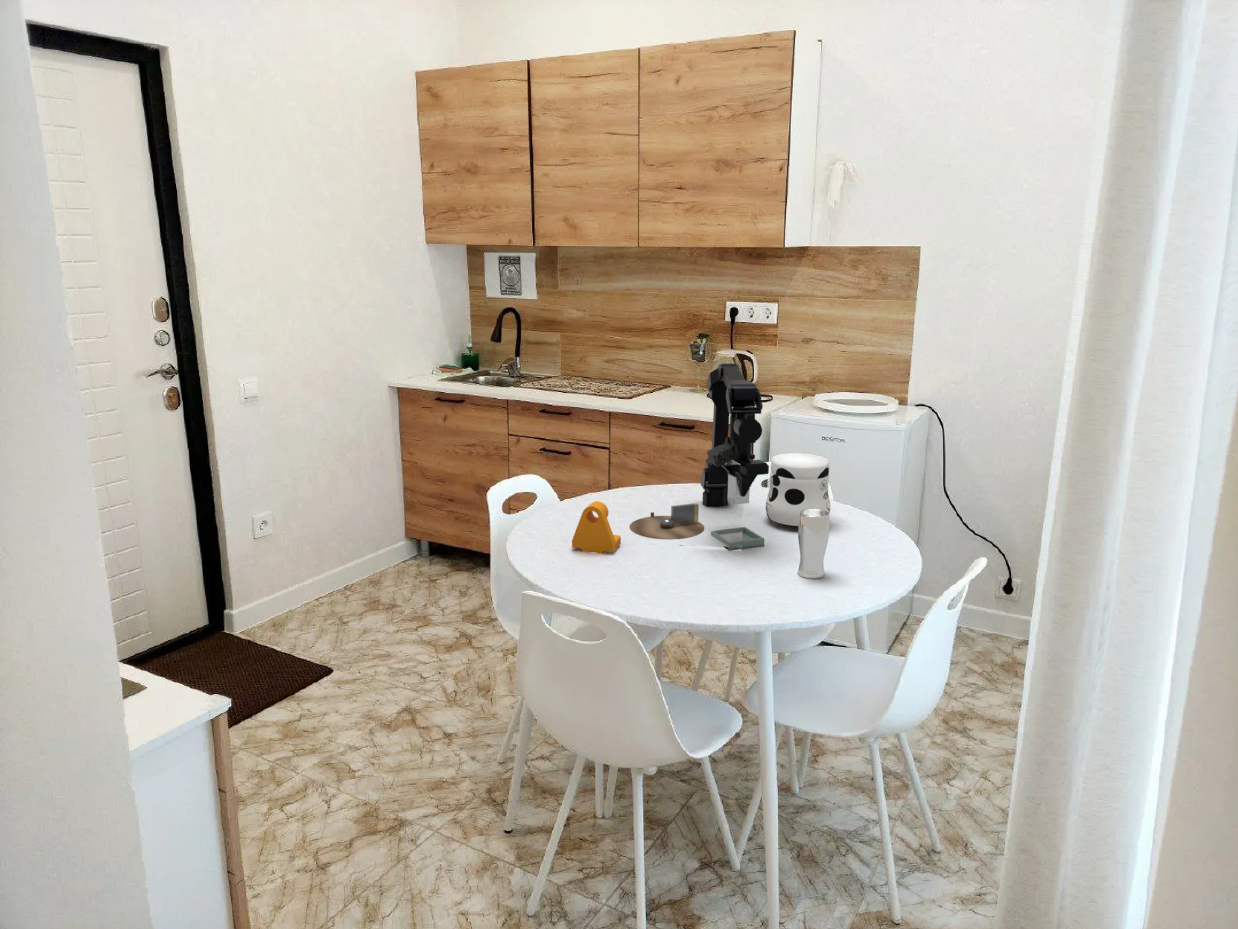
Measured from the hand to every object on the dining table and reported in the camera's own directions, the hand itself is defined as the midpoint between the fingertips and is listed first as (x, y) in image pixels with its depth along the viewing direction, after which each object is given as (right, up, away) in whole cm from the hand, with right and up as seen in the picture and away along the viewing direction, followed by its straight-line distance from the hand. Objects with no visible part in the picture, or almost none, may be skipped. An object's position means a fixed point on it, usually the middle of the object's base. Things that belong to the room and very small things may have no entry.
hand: (738, 494), depth 220 cm
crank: (-14, -8, +13) cm, 21 cm away
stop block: (0, -2, +1) cm, 2 cm away
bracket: (-36, -14, -1) cm, 38 cm away
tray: (0, -12, +3) cm, 13 cm away
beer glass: (+14, -18, -18) cm, 30 cm away
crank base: (-18, -10, +12) cm, 24 cm away
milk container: (+19, -9, +19) cm, 28 cm away
